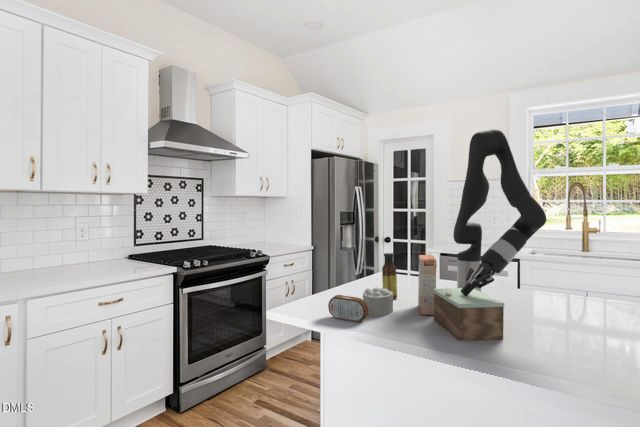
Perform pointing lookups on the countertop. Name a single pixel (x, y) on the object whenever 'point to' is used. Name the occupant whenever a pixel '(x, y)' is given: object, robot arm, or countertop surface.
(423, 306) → the cracker box
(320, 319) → the countertop surface
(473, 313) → the walnut box
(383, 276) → the sauce bottle
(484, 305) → the box lid
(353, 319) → the tin
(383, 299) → the lumpy-topped squat cylinder
